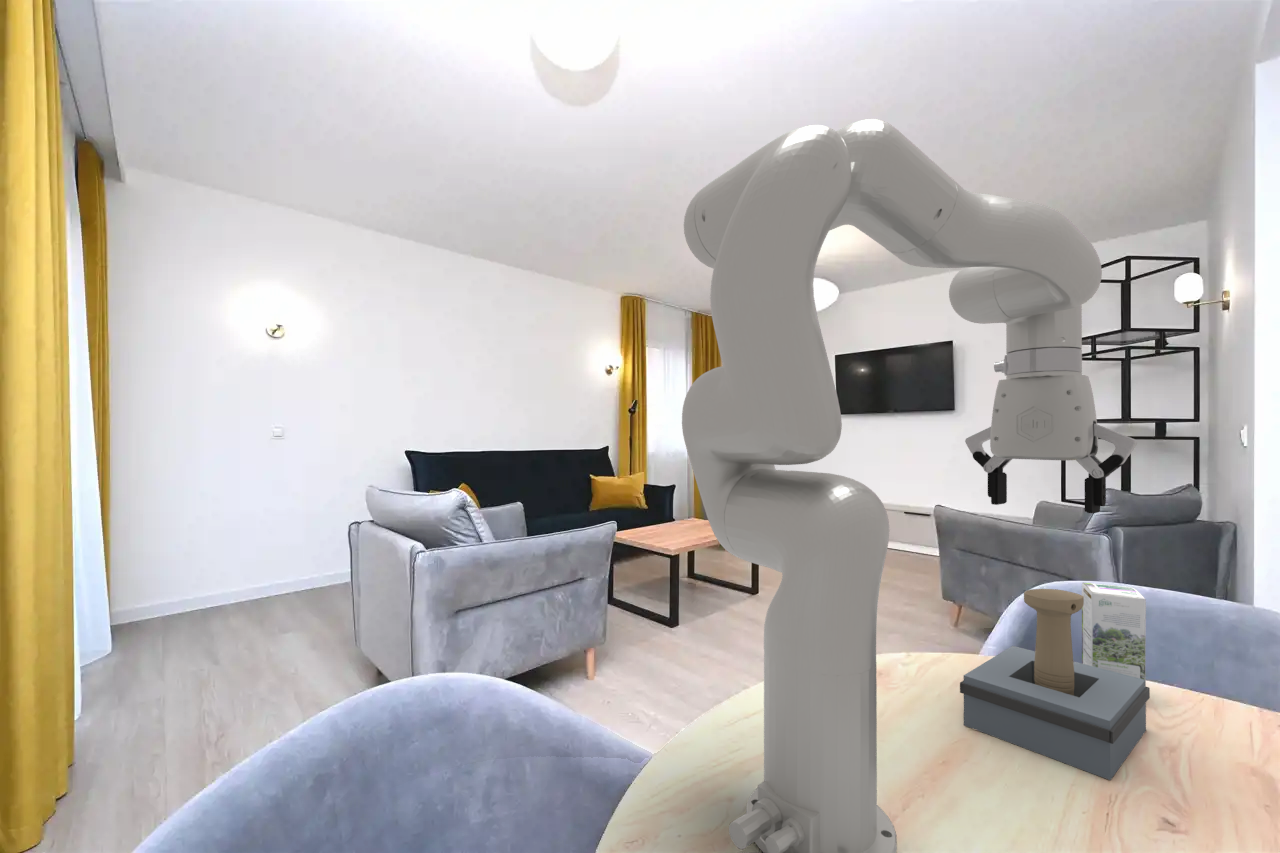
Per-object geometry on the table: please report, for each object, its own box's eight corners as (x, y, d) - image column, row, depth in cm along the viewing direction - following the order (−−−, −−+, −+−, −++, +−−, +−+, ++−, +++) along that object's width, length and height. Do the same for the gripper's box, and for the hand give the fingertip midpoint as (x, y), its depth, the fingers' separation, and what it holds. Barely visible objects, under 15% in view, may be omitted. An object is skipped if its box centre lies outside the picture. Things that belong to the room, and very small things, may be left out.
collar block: (1113, 782, 57) (1112, 723, 58) (960, 724, 69) (959, 675, 69) (1149, 730, 68) (1149, 679, 68) (1011, 687, 79) (1011, 644, 79)
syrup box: (1132, 690, 79) (1131, 585, 79) (1147, 708, 73) (1146, 595, 74) (1081, 681, 81) (1080, 580, 81) (1092, 698, 76) (1091, 590, 76)
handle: (1094, 725, 67) (1093, 597, 67) (1053, 733, 65) (1052, 602, 65) (1054, 706, 72) (1053, 587, 72) (1015, 713, 70) (1014, 591, 70)
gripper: (954, 370, 74) (954, 502, 73) (1126, 356, 60) (1127, 518, 60) (978, 375, 78) (978, 499, 78) (1143, 363, 65) (1144, 513, 64)
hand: (1043, 507), depth 69 cm, fingers open, 9 cm apart
